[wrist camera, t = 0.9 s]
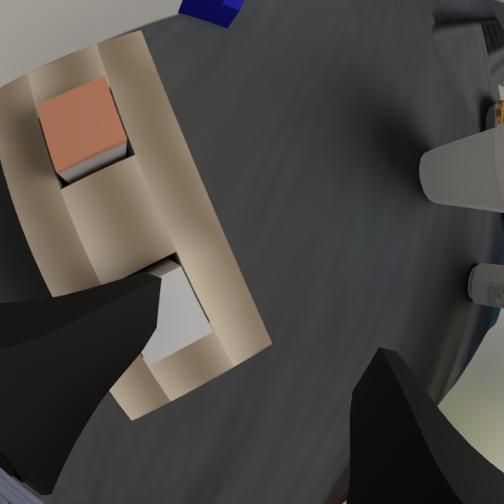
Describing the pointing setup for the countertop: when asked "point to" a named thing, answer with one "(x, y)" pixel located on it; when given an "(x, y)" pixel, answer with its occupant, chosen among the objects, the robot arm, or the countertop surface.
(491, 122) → the pie
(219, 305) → the button block
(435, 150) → the foam cup
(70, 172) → the orange block
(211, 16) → the blue angular block
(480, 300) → the energy drink can
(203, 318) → the matte grey cube
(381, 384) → the robot arm
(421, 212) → the countertop surface
